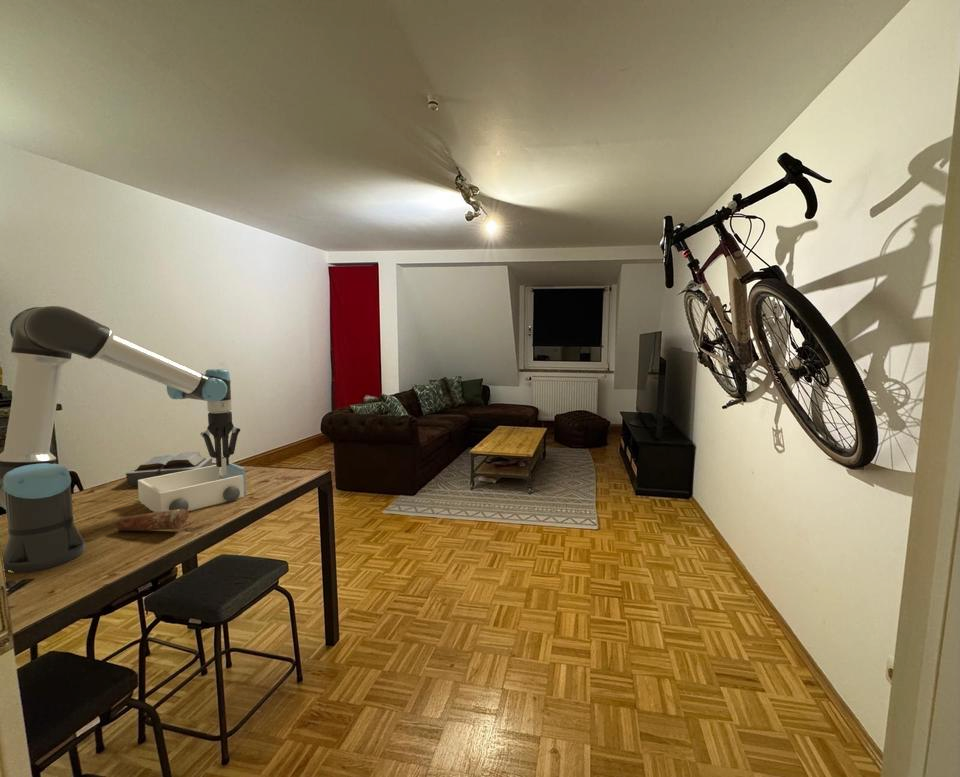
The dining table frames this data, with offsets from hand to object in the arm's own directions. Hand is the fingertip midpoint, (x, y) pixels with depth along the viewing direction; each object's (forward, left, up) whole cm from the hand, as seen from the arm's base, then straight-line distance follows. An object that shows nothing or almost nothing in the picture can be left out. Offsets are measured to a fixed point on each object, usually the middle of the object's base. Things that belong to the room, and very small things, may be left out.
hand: (223, 474), depth 162 cm
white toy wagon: (-10, 0, -7) cm, 12 cm away
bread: (-26, -22, -8) cm, 35 cm away
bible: (-6, +32, -7) cm, 34 cm away
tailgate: (+3, 0, -6) cm, 6 cm away
